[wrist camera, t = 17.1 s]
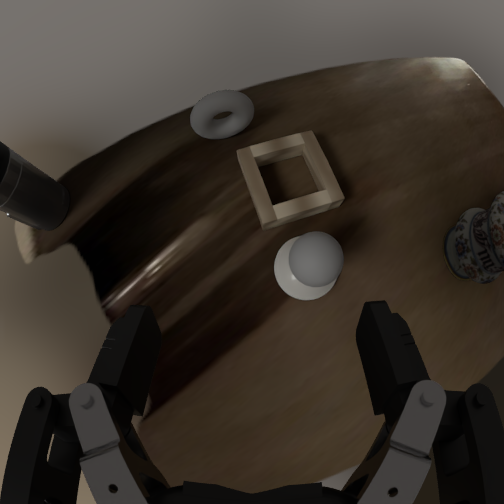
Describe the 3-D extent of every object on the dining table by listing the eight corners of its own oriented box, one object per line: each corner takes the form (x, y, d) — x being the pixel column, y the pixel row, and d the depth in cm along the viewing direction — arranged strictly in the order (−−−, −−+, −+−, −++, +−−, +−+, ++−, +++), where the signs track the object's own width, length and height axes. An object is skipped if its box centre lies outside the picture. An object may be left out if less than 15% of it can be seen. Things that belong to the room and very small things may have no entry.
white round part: (286, 309, 38) (286, 309, 37) (265, 248, 40) (265, 247, 39) (345, 287, 38) (347, 287, 37) (324, 228, 40) (325, 227, 39)
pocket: (263, 230, 40) (263, 223, 37) (238, 161, 43) (236, 150, 39) (338, 206, 41) (344, 198, 37) (308, 142, 43) (311, 130, 40)
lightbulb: (320, 296, 37) (342, 292, 27) (278, 283, 38) (283, 275, 27) (331, 254, 38) (356, 234, 28) (290, 241, 39) (300, 217, 28)
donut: (252, 118, 44) (248, 78, 35) (258, 133, 44) (255, 93, 34) (195, 134, 44) (181, 97, 34) (199, 150, 44) (184, 113, 34)
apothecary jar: (487, 283, 37) (557, 267, 19) (441, 290, 37) (520, 276, 20) (477, 218, 39) (540, 184, 21) (432, 218, 40) (499, 175, 22)
